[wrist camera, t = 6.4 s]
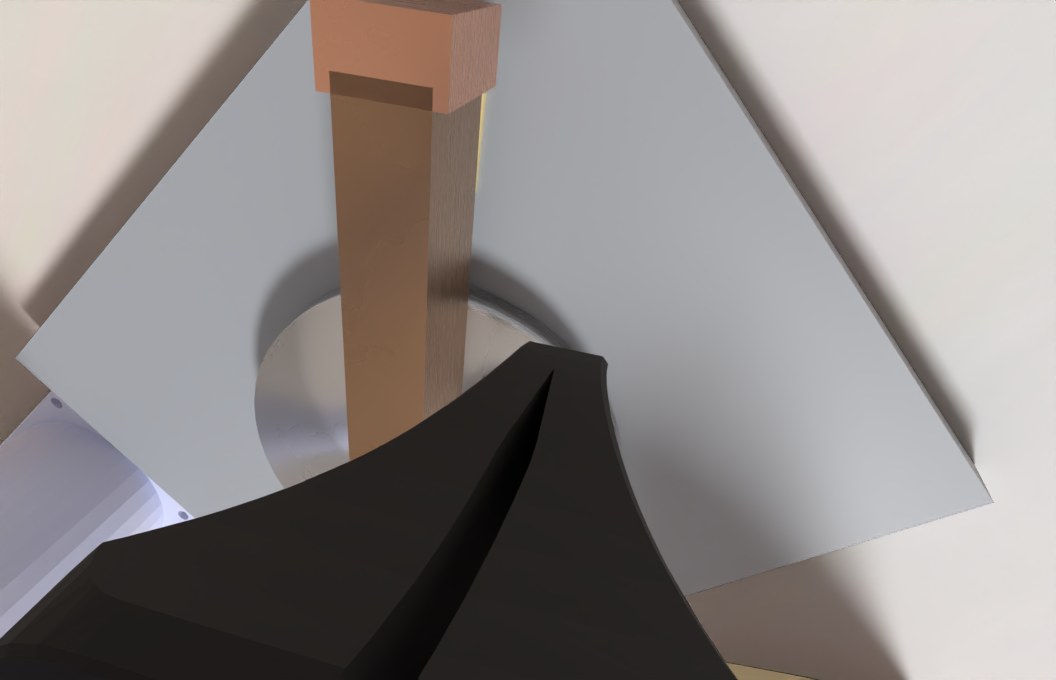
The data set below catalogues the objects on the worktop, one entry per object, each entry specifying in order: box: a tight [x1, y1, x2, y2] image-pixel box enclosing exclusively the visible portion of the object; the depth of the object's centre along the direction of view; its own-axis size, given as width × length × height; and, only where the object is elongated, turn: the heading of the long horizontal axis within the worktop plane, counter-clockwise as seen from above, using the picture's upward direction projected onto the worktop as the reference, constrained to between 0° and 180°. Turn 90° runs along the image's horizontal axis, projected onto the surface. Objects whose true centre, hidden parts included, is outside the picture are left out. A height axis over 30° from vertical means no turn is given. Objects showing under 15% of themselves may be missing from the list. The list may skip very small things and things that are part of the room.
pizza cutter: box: [254, 0, 621, 489], centre depth 18 cm, size 19×12×4 cm, turn 174°
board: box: [15, 0, 994, 596], centre depth 22 cm, size 26×21×2 cm
